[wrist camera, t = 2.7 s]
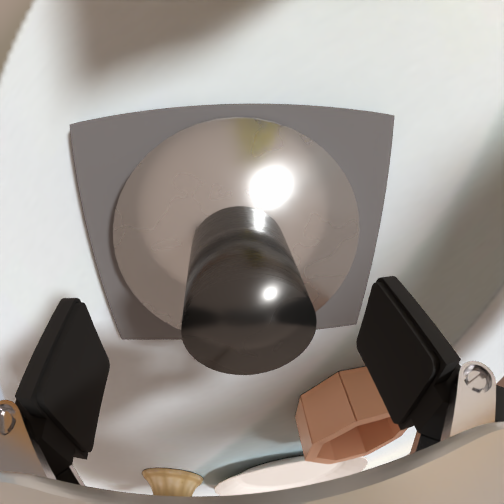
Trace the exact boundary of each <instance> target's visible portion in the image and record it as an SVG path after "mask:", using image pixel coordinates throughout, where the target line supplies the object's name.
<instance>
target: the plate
mask: <svg viewBox="0 0 504 504" xmlns="http://www.w3.org/2000/svg"><path fill="white" fill-rule="evenodd" d="M367 463H368V461H367V458H365V457H362V456H361V457H358V458H354V459H350V460H346V461H342V462H338V463H334V464H322V463H315V462H309V461H305V458H304V456H298V457H292V458H286V459H281V460H277V461H272V462H269V463H265V464H262V465H258V466H256V467H253V468H250V469H247V470H246V471H244V472H242V473H240V474H238V475H236V476H233V477H230V478H228V479H226V480H224V481H222V482H220V483H218V484H217V485H216V487H215V492H216V493H217V494H219V495H220V496H229V495H242V494H253V493H262V492H270V491H277V490H283V489H289V488H295V487H301V486H306V485H311V484H315V483H320V482H324V481H329V480H333V479H337V478H340V477H344V476H348V475H351V474H355V473H358V472H361V471H362V470H363V469H364V468H365V467H366V465H367Z"/></svg>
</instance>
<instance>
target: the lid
mask: <svg viewBox="0 0 504 504" xmlns="http://www.w3.org/2000/svg"><path fill="white" fill-rule="evenodd" d="M358 239H359V213H358V207H357V202H356V199H355V196H354V193H353V190H352V187H351V185H350V183H349V181H348V179H347V177H346V175H345V173H344V172H343V171H342V169H341V168H340V167H339V165H338V164H337V162H336V161H335V160H334V159H333V158H332V157H331V156H330V155H329V154H328V153H327V152H326V151H325V150H324V149H323V148H322V147H321V146H319V145H318V144H317V143H315V142H314V141H313V140H311V139H310V138H308V137H307V136H305V135H303V134H301V133H299V132H297V131H295V130H293V129H292V128H289V127H287V126H284V125H282V124H279V123H276V122H273V121H269V120H264V119H259V118H253V117H226V118H217V119H212V120H208V121H204V122H200V123H197V124H195V125H192V126H190V127H187V128H185V129H182V130H180V131H179V132H177V133H175V134H174V135H172V136H170V137H168V138H167V139H165V140H164V141H163V142H162V143H160V144H159V145H158V146H157V147H155V148H154V149H153V150H152V151H151V152H149V153H148V154H147V155H146V157H145V158H144V159H143V160H142V161H141V162H140V163H139V164H138V165H137V166H136V168H135V169H134V171H133V172H132V174H131V175H130V177H129V178H128V180H127V181H126V183H125V186H124V188H123V190H122V192H121V194H120V196H119V200H118V203H117V206H116V210H115V215H114V223H113V244H114V250H115V256H116V259H117V262H118V265H119V269H120V271H121V273H122V275H123V277H124V279H125V281H126V283H127V285H128V286H129V288H130V289H131V291H132V292H133V294H134V295H135V296H136V297H137V299H138V300H139V301H140V302H141V303H142V304H143V305H144V306H145V307H146V308H147V309H148V310H149V311H150V312H152V313H153V314H154V315H155V316H157V317H158V318H160V319H161V320H163V321H164V322H166V323H168V324H169V325H171V326H173V327H175V328H177V329H180V330H181V335H182V340H183V343H184V345H185V347H186V349H187V350H188V352H189V353H190V354H191V355H192V356H193V357H194V358H195V359H196V360H197V361H198V362H200V363H201V364H203V365H205V366H206V367H209V368H211V369H213V370H216V371H219V372H223V373H227V374H235V375H251V374H259V373H264V372H268V371H271V370H274V369H277V368H279V367H282V366H284V365H286V364H287V363H289V362H291V361H292V360H294V359H295V358H296V357H298V356H299V355H300V354H301V353H302V352H303V351H304V350H305V349H306V348H307V346H308V345H309V344H310V342H311V340H312V338H313V336H314V334H315V330H316V324H317V319H316V313H315V312H316V311H318V310H319V309H320V308H321V307H322V306H323V305H324V304H326V303H327V301H328V300H329V299H330V298H331V297H332V296H333V295H334V294H335V293H336V291H337V290H338V288H339V287H340V286H341V284H342V283H343V281H344V279H345V278H346V276H347V274H348V272H349V270H350V268H351V265H352V263H353V260H354V258H355V254H356V250H357V246H358Z"/></svg>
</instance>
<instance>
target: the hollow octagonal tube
mask: <svg viewBox="0 0 504 504" xmlns="http://www.w3.org/2000/svg"><path fill="white" fill-rule="evenodd" d="M295 419H296V423H297V428H298V432H299V437H300V441H301V445H302V450H303V454H304V458H305V461H309V462H315V463H322V464H334V463H338V462H342V461H346V460H350V459H354V458H358V457H361V456H365V455H368V454H370V453H372V452H374V451H375V450H377V449H379V448H381V447H383V446H385V445H386V444H388V443H390V442H392V441H394V440H395V439H397V438H399V437H400V436H402V434H403V433H404V432H405V431H406V430H407V429H408V428H406V429H404V430H400V428H399V426H398V424H395V423H393V421H392V419H391V417H390V415H389V413H388V411H387V408H386V406H385V404H384V402H383V400H382V398H381V396H380V394H379V392H378V390H377V387H376V385H375V383H374V381H373V379H372V377H371V375H370V373H369V371H368V369H367V367H366V366H365V367H360V368H355V369H350V370H344V371H339V373H338V372H337V373H335V374H334V375H332V376H331V377H329V378H328V379H326V380H325V381H323V382H322V383H320V384H318V385H317V386H315V387H314V388H312V389H310V390H309V391H307V392H306V393H304V394H302V395H301V396H300V398H299V403H298V407H297V411H296V415H295Z"/></svg>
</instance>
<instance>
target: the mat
mask: <svg viewBox="0 0 504 504" xmlns="http://www.w3.org/2000/svg"><path fill="white" fill-rule="evenodd" d="M226 117H253V118H259V119H264V120H269V121H273V122H276V123H279V124H282V125H284V126H287V127H289V128H292V129H293V130H295V131H297V132H299V133H301V134H303V135H305V136H307V137H308V138H310V139H311V140H313V141H314V142H315V143H317V144H318V145H319V146H321V147H322V148H323V149H324V150H325V151H326V152H327V153H328V154H329V155H330V156H331V157H332V158H333V159H334V160H335V161H336V162H337V164H338V165H339V167H340V168H341V169H342V171H343V172H344V173H345V175H346V177H347V179H348V181H349V183H350V185H351V187H352V190H353V193H354V196H355V199H356V202H357V207H358V213H359V239H358V246H357V250H356V254H355V258H354V260H353V263H352V265H351V268H350V270H349V272H348V274H347V276H346V278H345V279H344V281H343V283H342V284H341V286H340V287H339V288H338V290H337V291H336V293H335V294H334V295H333V296H332V297H331V298H330V299H329V300H328V301H327V303H326V304H324V305H323V306H322V307H321V308H320V309H319V310H318V311H316V312H315V313H316V319H317V324H316V329H324V328H332V327H340V326H347V325H354V324H356V323H357V319H358V316H359V312H360V309H361V305H362V301H363V298H364V294H365V290H366V286H367V282H368V278H369V274H370V269H371V265H372V261H373V256H374V252H375V247H376V242H377V237H378V232H379V227H380V222H381V216H382V211H383V205H384V199H385V192H386V186H387V179H388V172H389V164H390V156H391V147H392V137H393V126H394V116H393V115H389V114H383V113H376V112H369V111H361V110H353V109H344V108H334V107H323V106H309V105H289V104H220V105H201V106H187V107H175V108H165V109H156V110H148V111H140V112H133V113H126V114H120V115H114V116H108V117H103V118H98V119H92V120H88V121H83V122H78V123H74V124H71V125H70V133H71V141H72V149H73V156H74V163H75V170H76V176H77V182H78V187H79V193H80V198H81V203H82V208H83V212H84V217H85V221H86V226H87V230H88V234H89V238H90V242H91V246H92V250H93V253H94V257H95V261H96V264H97V268H98V271H99V274H100V278H101V281H102V284H103V287H104V290H105V294H106V297H107V300H108V303H109V306H110V308H111V311H112V314H113V317H114V320H115V322H116V325H117V328H118V331H119V333H120V336H121V338H122V339H182V335H181V330H180V329H177V328H175V327H173V326H171V325H169V324H168V323H166V322H164V321H163V320H161V319H160V318H158V317H157V316H155V315H154V314H153V313H152V312H150V311H149V310H148V309H147V308H146V307H145V306H144V305H143V304H142V303H141V302H140V301H139V300H138V299H137V297H136V296H135V295H134V294H133V292H132V291H131V289H130V288H129V286H128V285H127V283H126V281H125V279H124V277H123V275H122V273H121V271H120V269H119V265H118V262H117V259H116V256H115V250H114V244H113V223H114V215H115V210H116V206H117V203H118V200H119V196H120V194H121V192H122V190H123V188H124V186H125V183H126V181H127V180H128V178H129V177H130V175H131V174H132V172H133V171H134V169H135V168H136V166H137V165H138V164H139V163H140V162H141V161H142V160H143V159H144V158H145V157H146V155H147V154H148V153H149V152H151V151H152V150H153V149H154V148H155V147H157V146H158V145H159V144H160V143H162V142H163V141H164V140H165V139H167V138H168V137H170V136H172V135H174V134H175V133H177V132H179V131H180V130H182V129H185V128H187V127H190V126H192V125H195V124H197V123H200V122H204V121H208V120H212V119H217V118H226Z"/></svg>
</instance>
